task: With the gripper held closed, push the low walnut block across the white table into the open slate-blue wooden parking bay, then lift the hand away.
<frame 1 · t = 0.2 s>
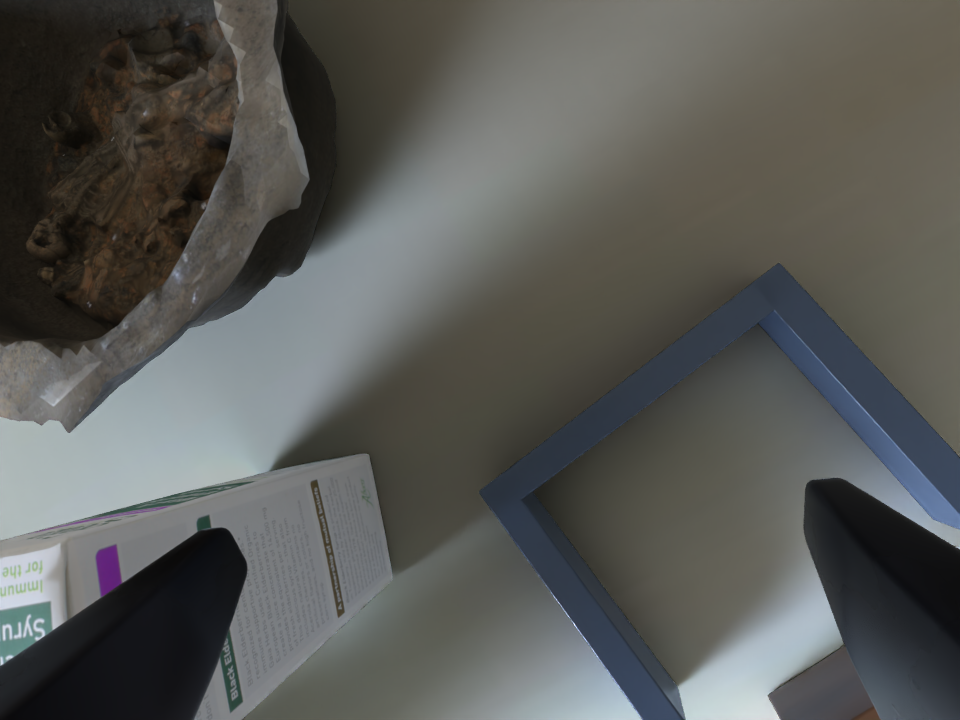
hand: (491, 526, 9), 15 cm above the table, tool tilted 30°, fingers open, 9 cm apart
parking bay: (706, 490, 21), on the table
stone bowl: (167, 176, 28), on the table
syrup box: (328, 526, 25), on the table
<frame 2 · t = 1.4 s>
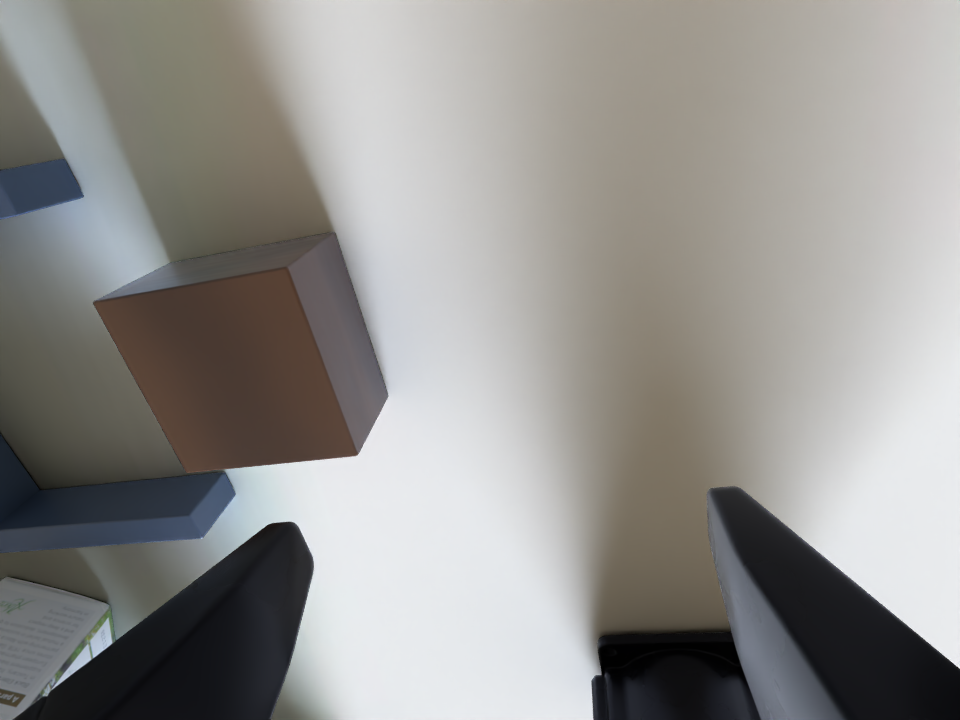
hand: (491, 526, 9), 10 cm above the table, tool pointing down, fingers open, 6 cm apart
parking bay: (46, 368, 21), on the table
walnut block: (283, 331, 19), on the table
syrup box: (71, 620, 29), on the table
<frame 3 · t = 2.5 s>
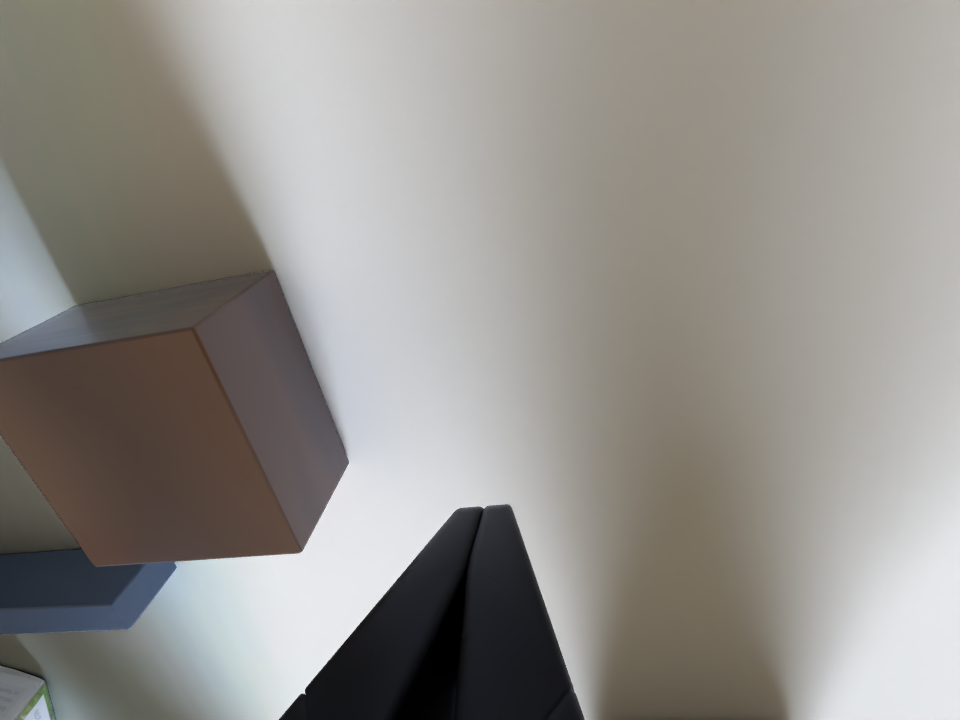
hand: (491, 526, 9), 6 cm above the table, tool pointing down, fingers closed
walnut block: (218, 387, 16), on the table
syrup box: (5, 693, 26), on the table
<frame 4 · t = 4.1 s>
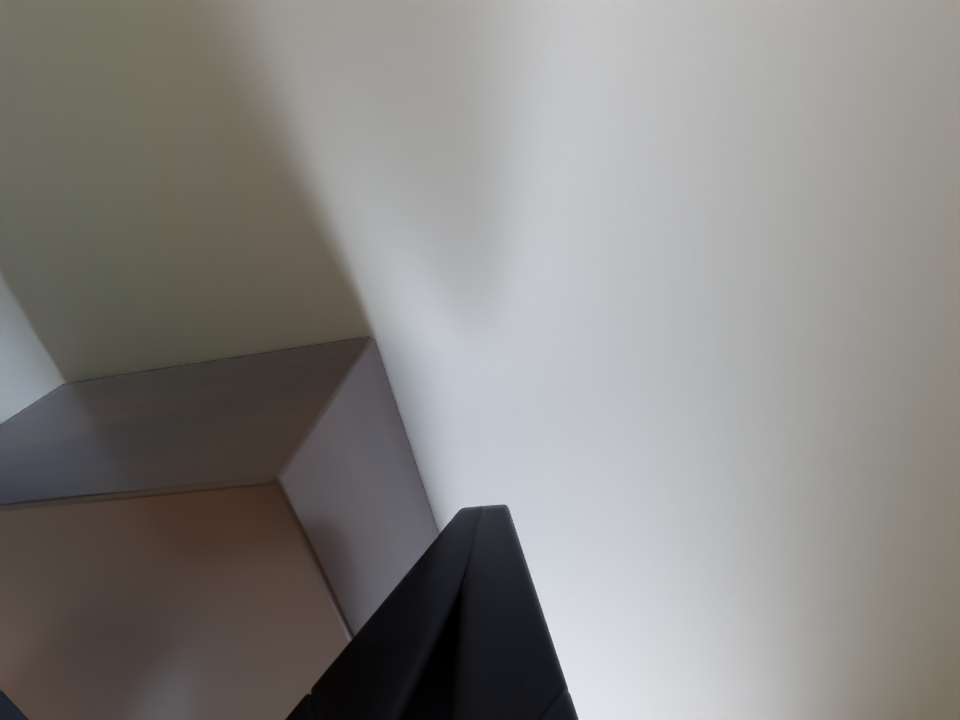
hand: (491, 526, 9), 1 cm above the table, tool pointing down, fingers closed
walnut block: (274, 498, 11), on the table, touching gripper
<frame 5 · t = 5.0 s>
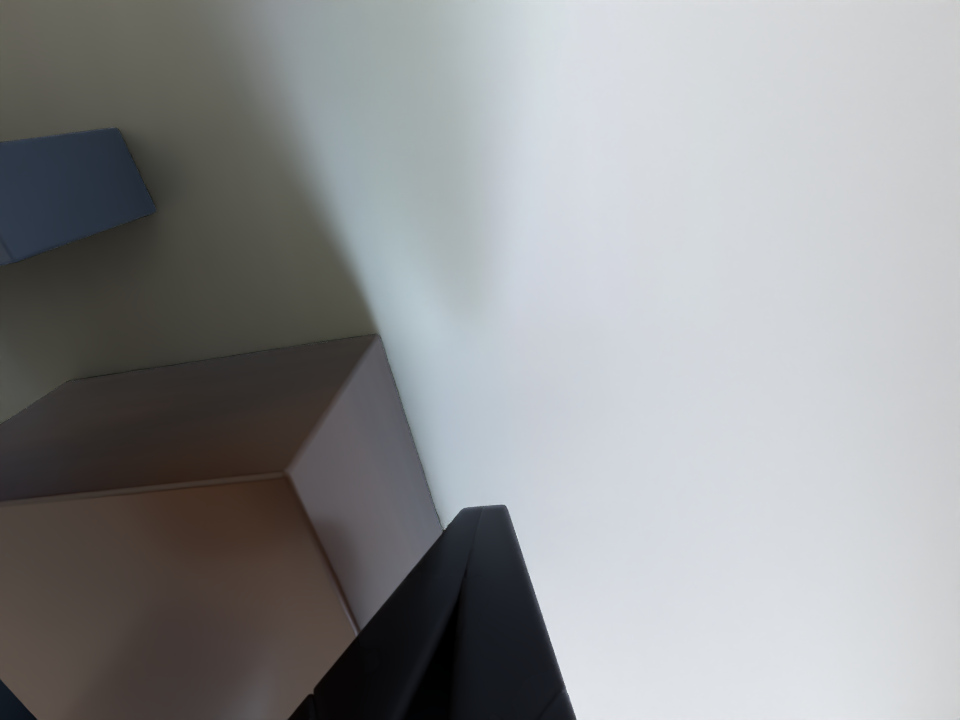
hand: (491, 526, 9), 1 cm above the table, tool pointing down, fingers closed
parking bay: (70, 520, 12), on the table
walnut block: (278, 495, 11), on the table, touching gripper
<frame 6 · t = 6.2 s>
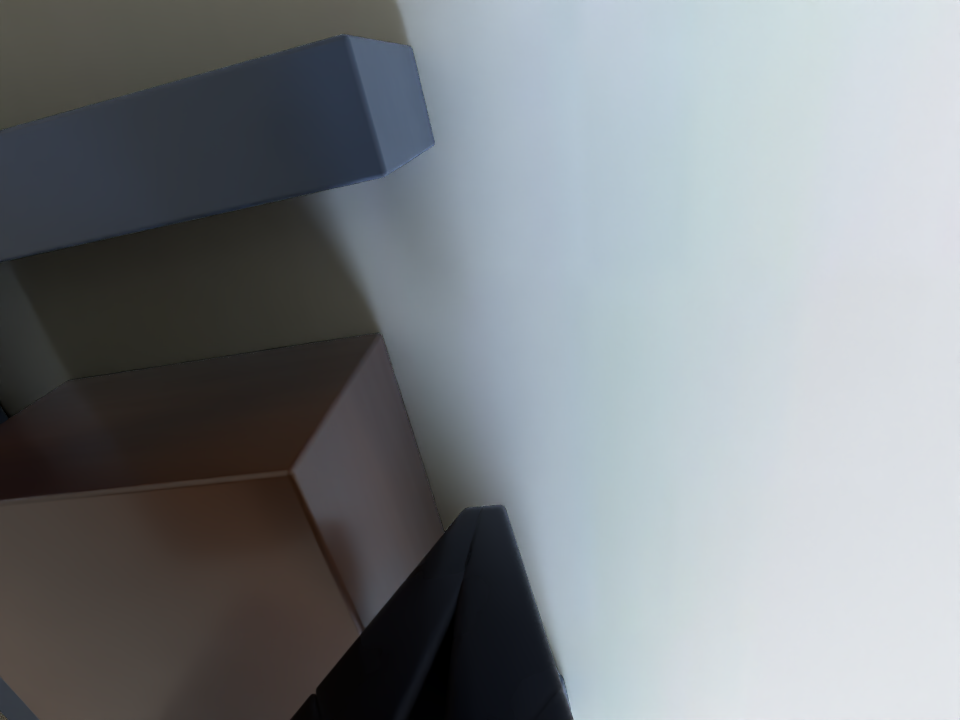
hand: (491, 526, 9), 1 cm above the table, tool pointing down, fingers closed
parking bay: (251, 500, 11), on the table
walnut block: (280, 494, 11), on the table, touching gripper
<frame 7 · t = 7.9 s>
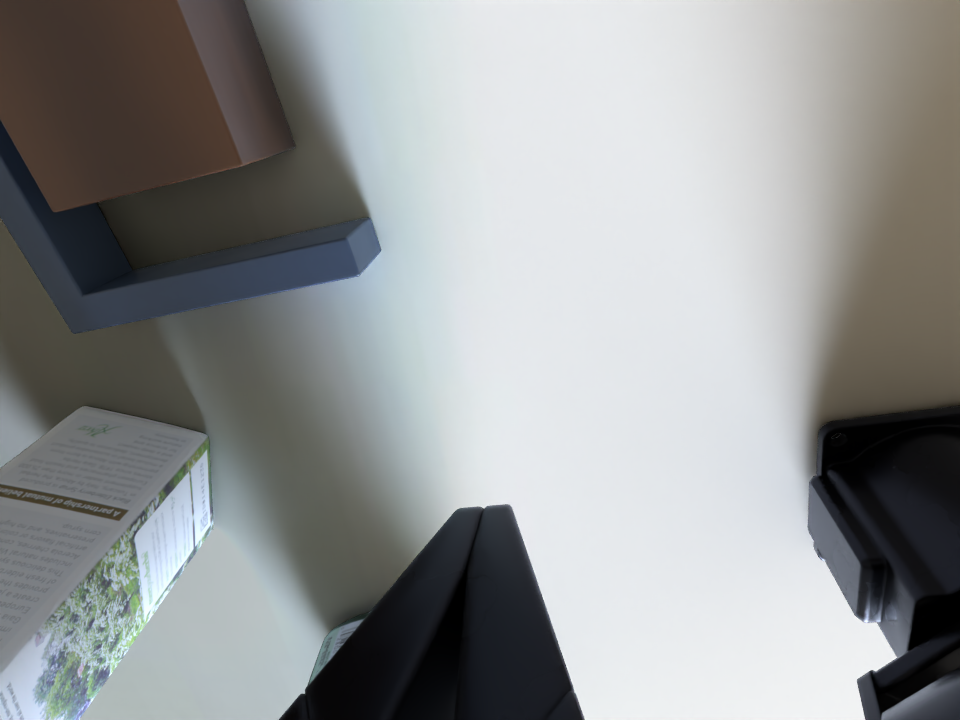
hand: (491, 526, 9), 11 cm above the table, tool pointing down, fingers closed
parking bay: (152, 72, 17), on the table
walnut block: (169, 66, 17), on the table
coffee jar: (416, 658, 29), on the table
syrup box: (157, 465, 25), on the table
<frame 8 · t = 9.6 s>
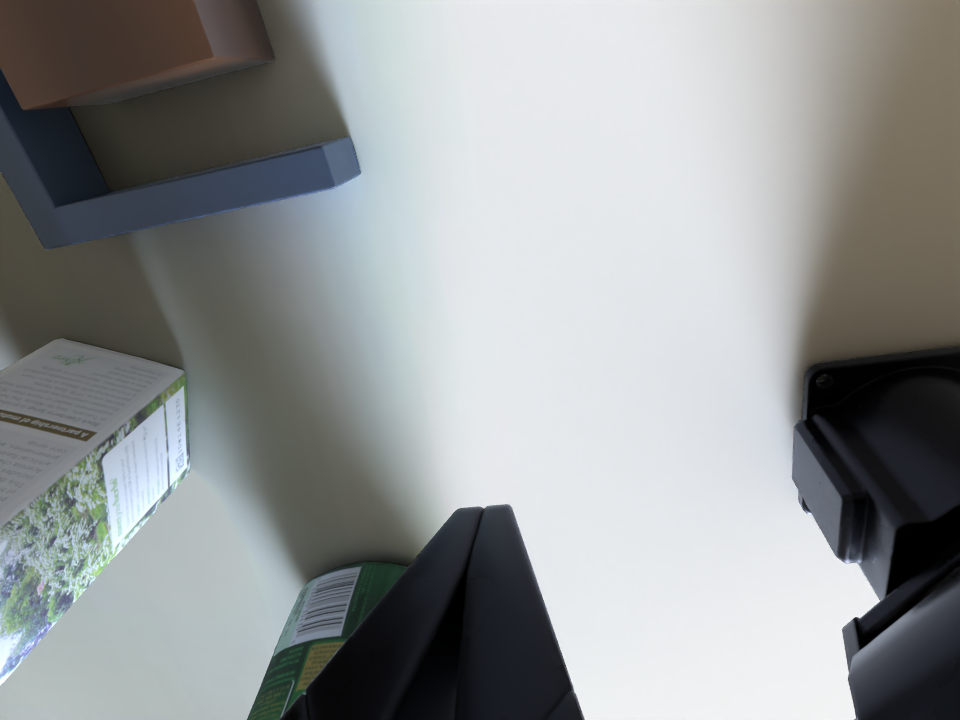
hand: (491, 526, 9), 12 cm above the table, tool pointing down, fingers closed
coffee jar: (395, 615, 29), on the table
syrup box: (134, 404, 24), on the table
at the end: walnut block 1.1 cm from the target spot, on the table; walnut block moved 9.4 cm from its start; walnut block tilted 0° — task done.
